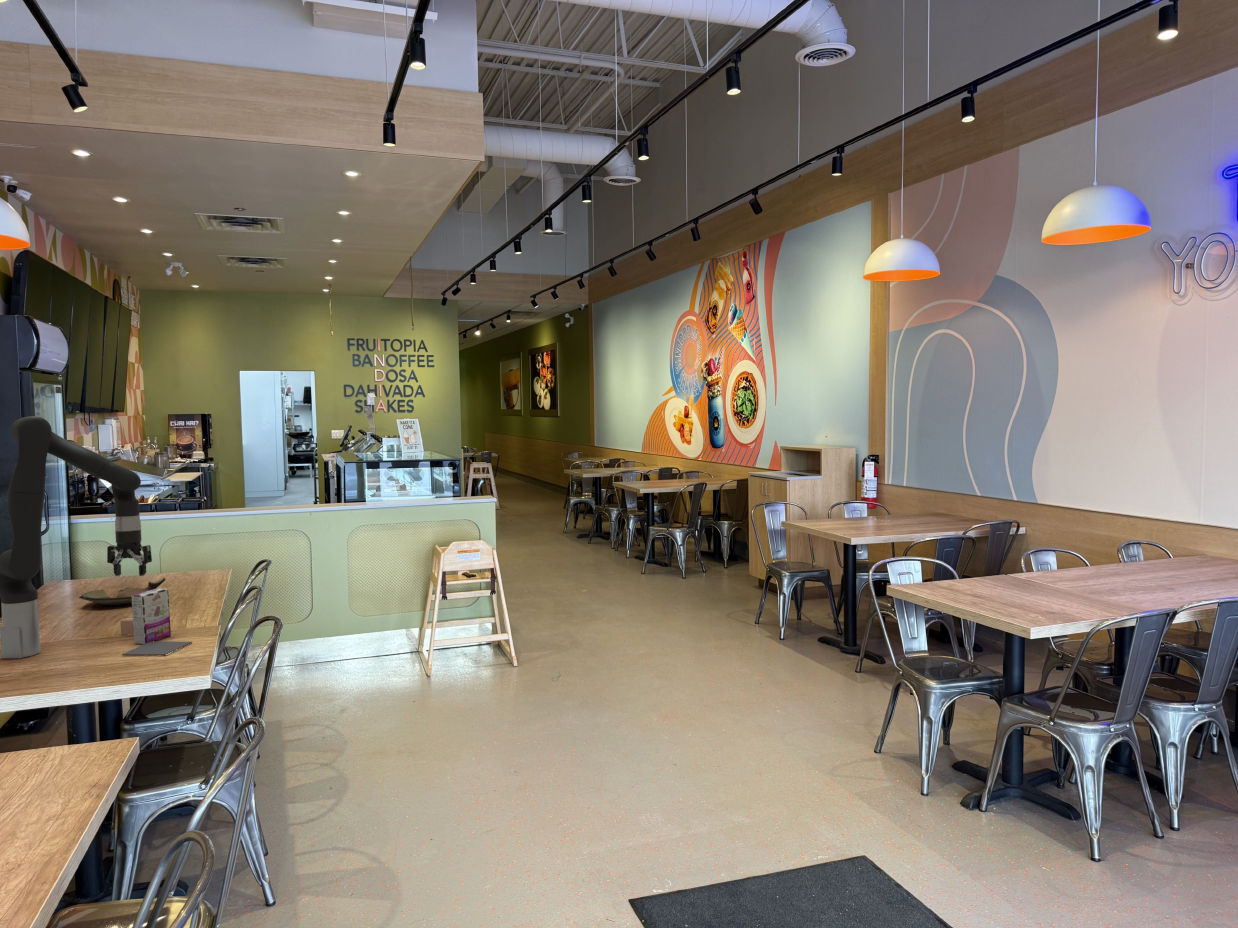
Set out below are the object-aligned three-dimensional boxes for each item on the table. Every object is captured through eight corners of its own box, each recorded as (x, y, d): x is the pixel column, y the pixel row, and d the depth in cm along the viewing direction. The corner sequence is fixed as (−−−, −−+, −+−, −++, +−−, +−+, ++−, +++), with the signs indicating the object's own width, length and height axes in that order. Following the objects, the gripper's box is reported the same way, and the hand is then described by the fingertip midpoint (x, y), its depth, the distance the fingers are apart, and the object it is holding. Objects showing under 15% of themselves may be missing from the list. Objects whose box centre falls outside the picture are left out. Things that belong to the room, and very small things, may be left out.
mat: (165, 656, 246) (165, 654, 246) (122, 655, 246) (122, 653, 246) (192, 643, 260) (191, 641, 260) (150, 643, 260) (150, 641, 260)
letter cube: (135, 635, 271) (134, 619, 270) (120, 635, 271) (120, 619, 271) (144, 631, 276) (143, 616, 275) (130, 631, 276) (129, 616, 276)
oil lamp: (80, 602, 320) (79, 584, 320) (165, 593, 337) (164, 575, 336) (78, 614, 302) (77, 594, 301) (168, 603, 318) (168, 584, 317)
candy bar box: (158, 635, 270) (156, 587, 269) (171, 635, 269) (169, 588, 268) (132, 644, 259) (130, 594, 258) (145, 644, 258) (143, 595, 257)
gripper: (100, 530, 268) (102, 577, 269) (141, 530, 267) (143, 577, 268) (115, 527, 275) (117, 573, 276) (155, 527, 275) (157, 573, 276)
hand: (130, 575), depth 272 cm, fingers open, 8 cm apart
